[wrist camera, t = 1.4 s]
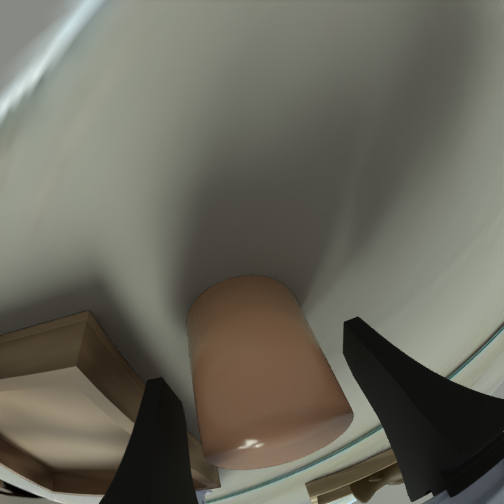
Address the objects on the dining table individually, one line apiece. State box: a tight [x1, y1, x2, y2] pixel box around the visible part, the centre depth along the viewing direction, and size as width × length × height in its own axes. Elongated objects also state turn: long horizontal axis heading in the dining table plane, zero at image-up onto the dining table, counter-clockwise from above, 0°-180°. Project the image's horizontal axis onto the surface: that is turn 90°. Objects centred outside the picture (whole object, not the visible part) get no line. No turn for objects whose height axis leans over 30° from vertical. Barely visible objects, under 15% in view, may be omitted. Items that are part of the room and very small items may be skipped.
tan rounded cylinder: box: [186, 275, 354, 470], centre depth 11 cm, size 5×5×6 cm
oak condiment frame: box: [305, 448, 397, 504], centre depth 39 cm, size 17×27×2 cm, turn 102°
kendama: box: [349, 462, 404, 503], centre depth 37 cm, size 6×10×20 cm
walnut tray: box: [0, 310, 221, 497], centre depth 14 cm, size 18×18×3 cm
